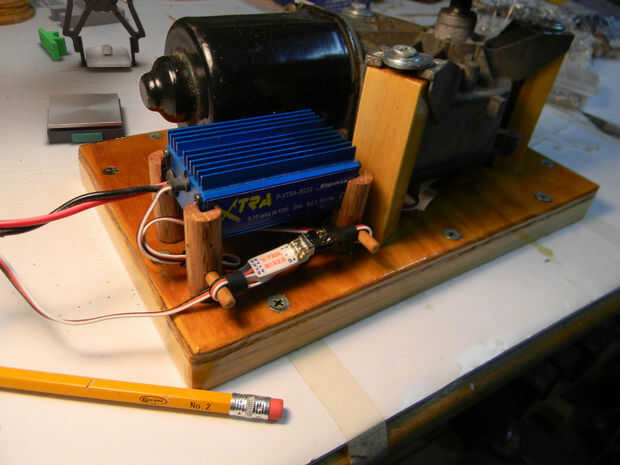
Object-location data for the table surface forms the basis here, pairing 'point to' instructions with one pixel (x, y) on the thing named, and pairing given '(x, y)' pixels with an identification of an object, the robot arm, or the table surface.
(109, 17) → the bracket
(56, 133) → the kitchen scale
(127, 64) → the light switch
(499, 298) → the table surface
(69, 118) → the scale pan
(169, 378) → the table surface
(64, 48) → the pipe clamp
